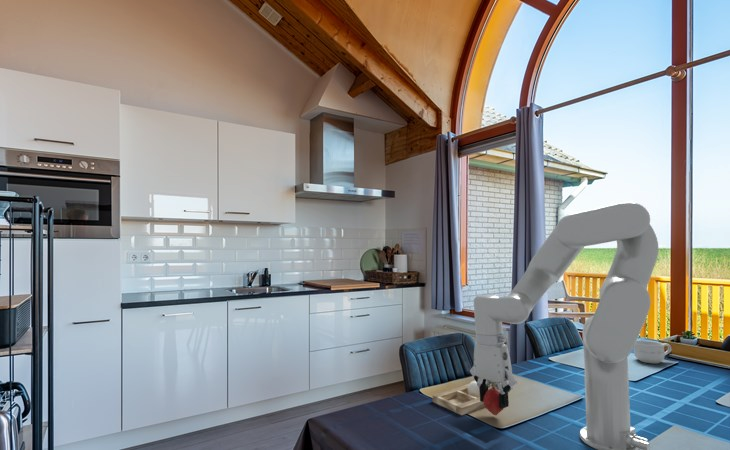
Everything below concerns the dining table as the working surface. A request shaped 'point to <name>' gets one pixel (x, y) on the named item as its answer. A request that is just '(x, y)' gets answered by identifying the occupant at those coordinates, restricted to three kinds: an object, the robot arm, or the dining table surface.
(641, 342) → the teacup
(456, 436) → the dining table surface
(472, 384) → the ceramic egg
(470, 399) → the holder board
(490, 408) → the onion
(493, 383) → the grey green leafy sprig
